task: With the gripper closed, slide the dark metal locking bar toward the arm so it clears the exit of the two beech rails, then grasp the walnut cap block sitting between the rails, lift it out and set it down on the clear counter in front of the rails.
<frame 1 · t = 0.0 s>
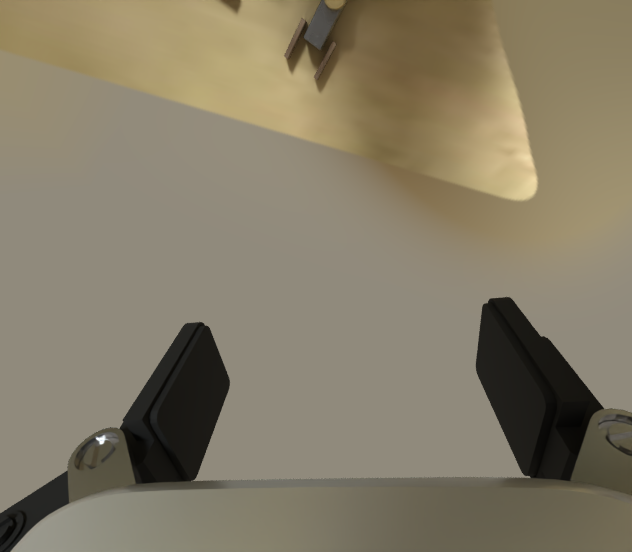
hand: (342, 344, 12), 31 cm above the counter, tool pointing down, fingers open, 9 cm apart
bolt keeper: (310, 50, 33), on the counter
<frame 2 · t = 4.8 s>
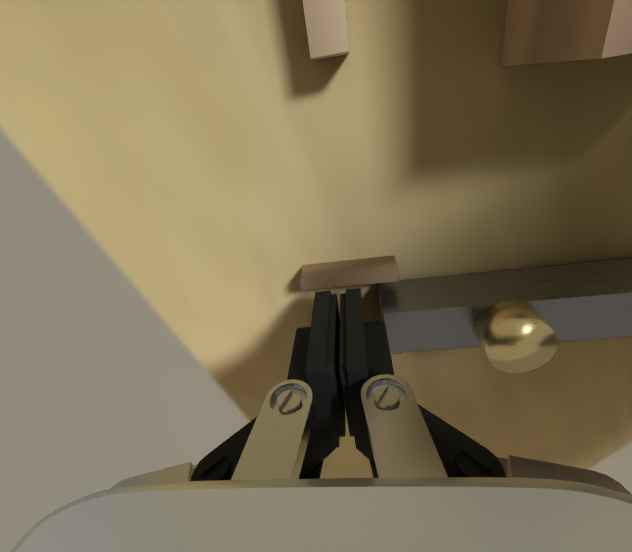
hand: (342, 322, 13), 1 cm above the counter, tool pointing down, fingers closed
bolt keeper: (352, 301, 14), on the counter
locking bar: (564, 312, 11), point 2 cm above the counter, slide at 0.6 cm, touching gripper
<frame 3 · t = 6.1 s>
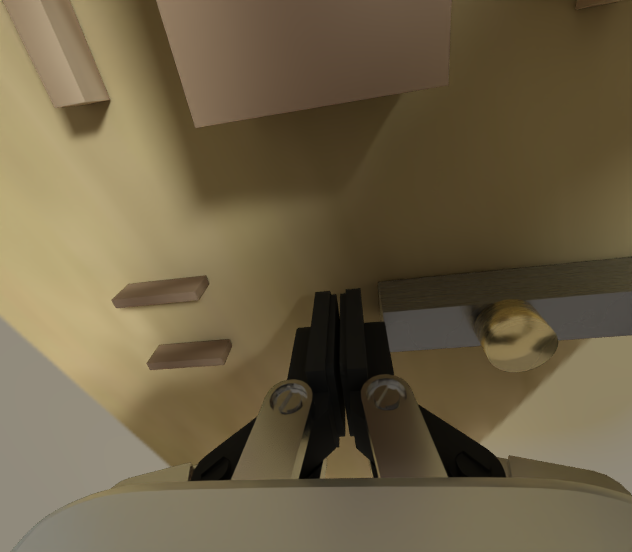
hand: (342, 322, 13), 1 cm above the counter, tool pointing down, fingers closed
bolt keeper: (182, 316, 15), on the counter
locking bar: (563, 311, 11), point 2 cm above the counter, slide at 8.1 cm, touching gripper
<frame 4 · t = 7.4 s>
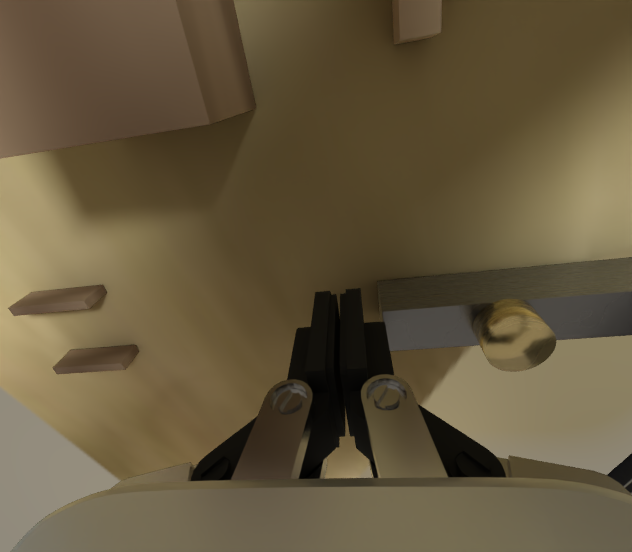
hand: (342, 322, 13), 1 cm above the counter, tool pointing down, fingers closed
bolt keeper: (87, 323, 16), on the counter
locking bar: (561, 311, 11), point 2 cm above the counter, slide at 12.8 cm, touching gripper
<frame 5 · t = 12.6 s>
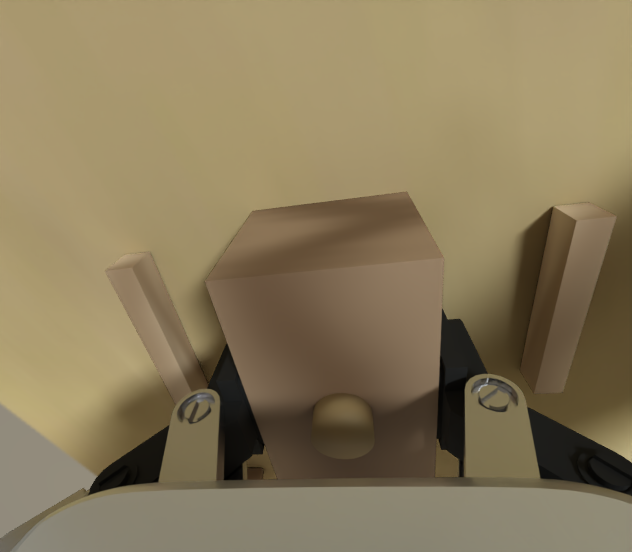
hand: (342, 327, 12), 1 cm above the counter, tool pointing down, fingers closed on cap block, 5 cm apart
cap block: (342, 313, 13), on the counter, touching gripper
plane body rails: (346, 314, 13), on the counter
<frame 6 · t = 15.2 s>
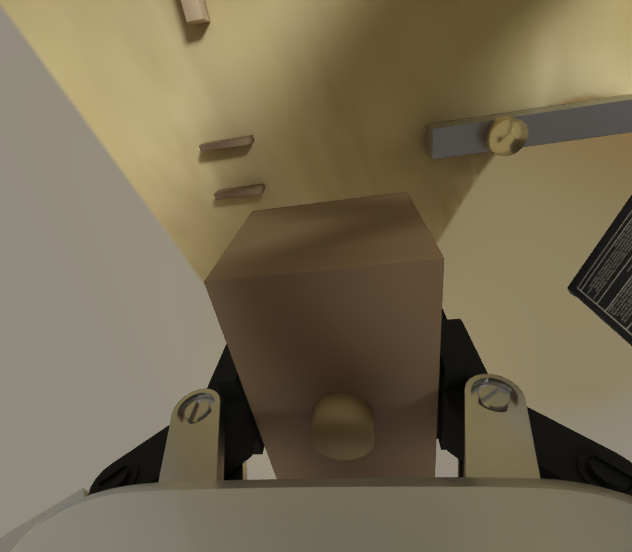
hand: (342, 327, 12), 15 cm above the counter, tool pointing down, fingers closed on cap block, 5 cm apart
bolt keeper: (235, 166, 25), on the counter
cap block: (342, 314, 13), point 14 cm above the counter, touching gripper
locking bar: (533, 128, 20), point 2 cm above the counter, slide at 12.9 cm
when the fingers open (2 cm above the counter, at t = 17.9 s): cap block drops 1 cm, on the counter.
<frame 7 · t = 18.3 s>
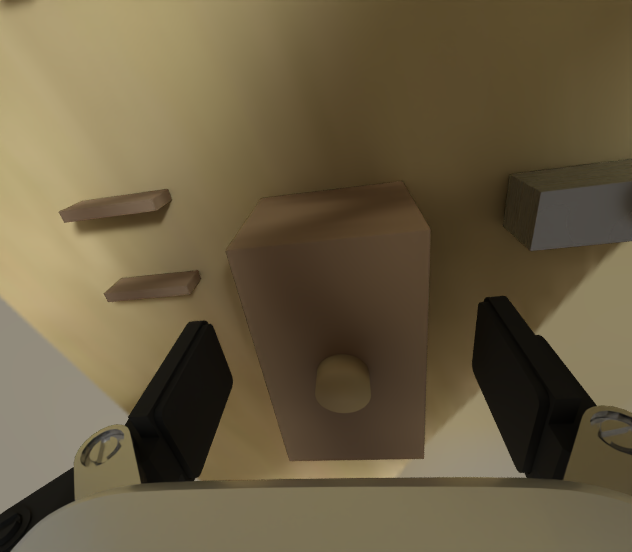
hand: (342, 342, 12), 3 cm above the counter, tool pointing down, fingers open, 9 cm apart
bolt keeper: (144, 241, 13), on the counter
cap block: (342, 293, 14), on the counter
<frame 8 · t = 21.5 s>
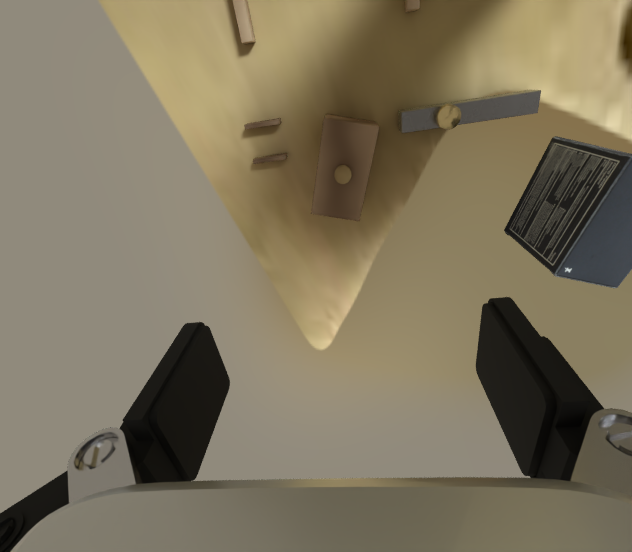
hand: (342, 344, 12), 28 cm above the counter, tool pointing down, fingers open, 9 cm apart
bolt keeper: (267, 140, 35), on the counter
cap block: (342, 163, 36), on the counter
locking bar: (467, 112, 31), point 2 cm above the counter, slide at 12.9 cm
small box: (552, 192, 36), on the counter
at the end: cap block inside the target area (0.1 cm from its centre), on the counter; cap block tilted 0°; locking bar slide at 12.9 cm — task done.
